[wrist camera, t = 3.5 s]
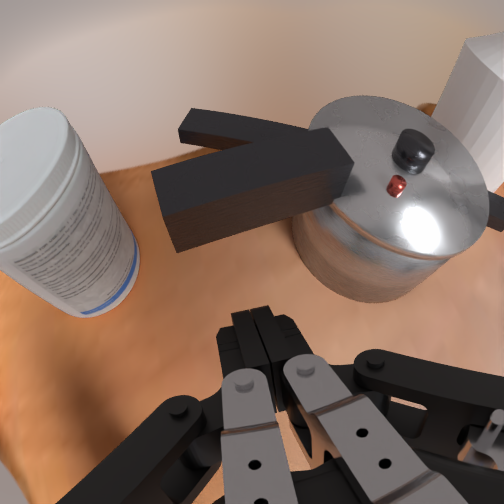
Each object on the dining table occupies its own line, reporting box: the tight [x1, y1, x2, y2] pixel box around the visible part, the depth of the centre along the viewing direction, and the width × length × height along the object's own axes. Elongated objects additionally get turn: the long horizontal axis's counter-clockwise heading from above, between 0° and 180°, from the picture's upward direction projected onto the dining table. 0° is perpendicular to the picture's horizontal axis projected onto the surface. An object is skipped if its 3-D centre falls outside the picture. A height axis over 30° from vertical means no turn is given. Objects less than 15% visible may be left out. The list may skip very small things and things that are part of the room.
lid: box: [151, 96, 489, 261], centre depth 18 cm, size 24×15×4 cm, turn 111°
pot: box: [178, 108, 504, 303], centre depth 25 cm, size 27×14×9 cm, turn 75°
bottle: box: [431, 32, 504, 193], centre depth 22 cm, size 12×12×25 cm
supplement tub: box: [0, 107, 140, 318], centre depth 19 cm, size 10×10×15 cm
